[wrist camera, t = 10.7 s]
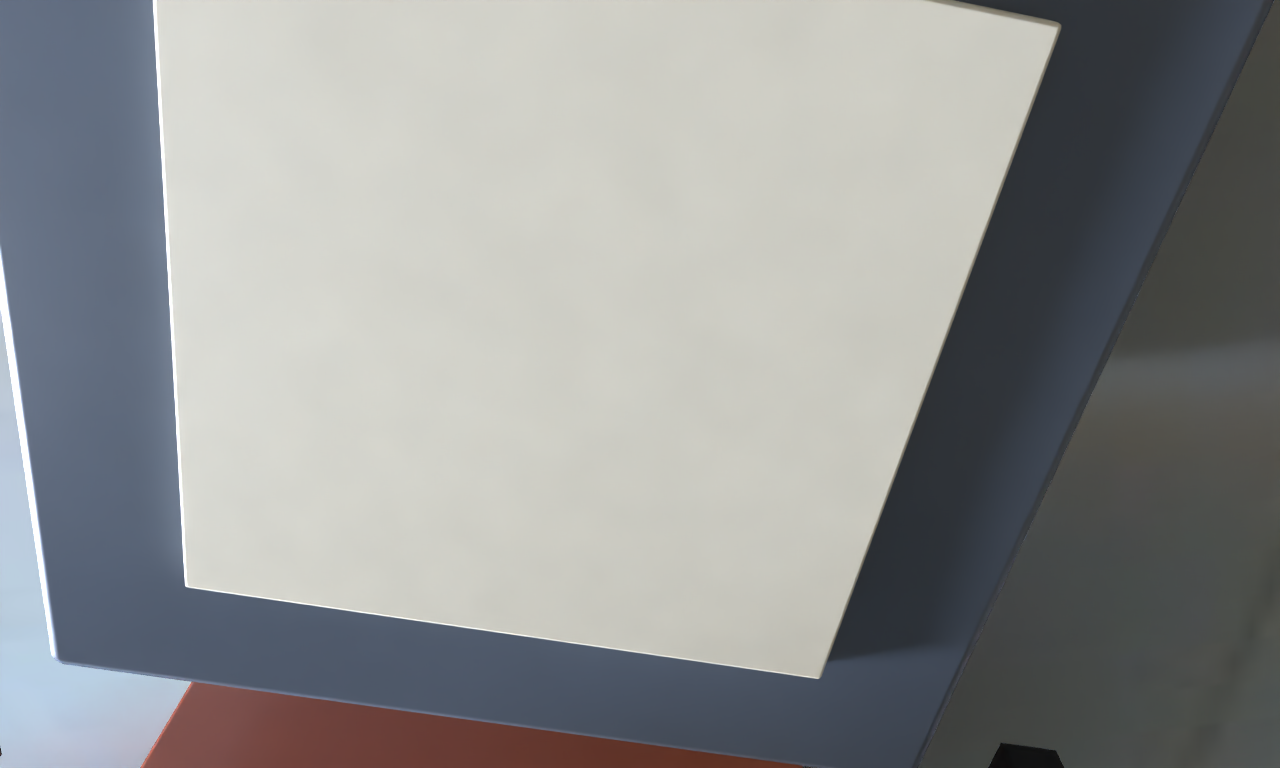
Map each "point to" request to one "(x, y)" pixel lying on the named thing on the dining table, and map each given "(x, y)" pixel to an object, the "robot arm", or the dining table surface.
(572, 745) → the terracotta block
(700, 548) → the slate block
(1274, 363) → the dining table surface
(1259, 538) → the dining table surface
